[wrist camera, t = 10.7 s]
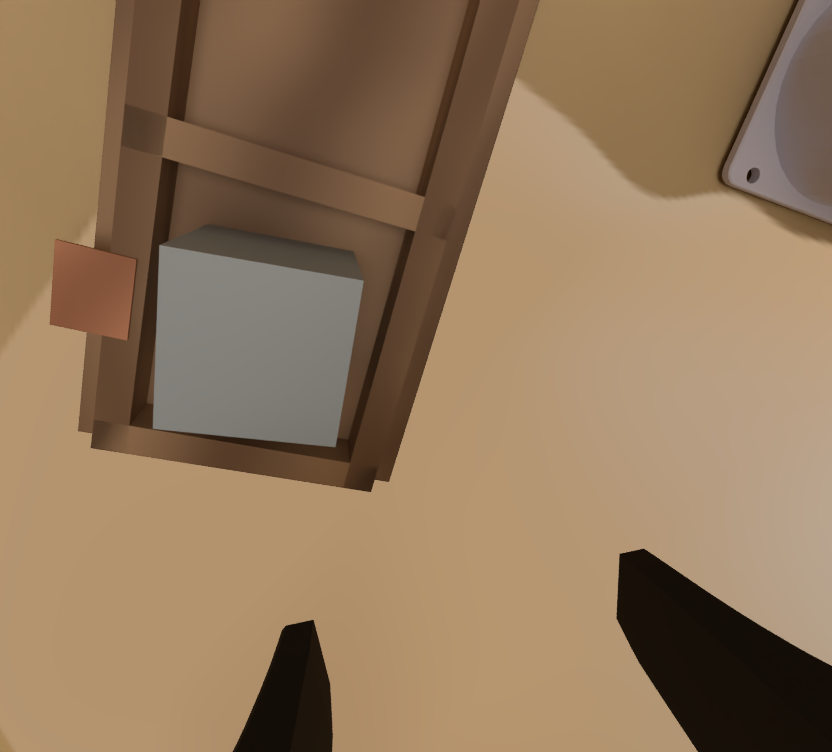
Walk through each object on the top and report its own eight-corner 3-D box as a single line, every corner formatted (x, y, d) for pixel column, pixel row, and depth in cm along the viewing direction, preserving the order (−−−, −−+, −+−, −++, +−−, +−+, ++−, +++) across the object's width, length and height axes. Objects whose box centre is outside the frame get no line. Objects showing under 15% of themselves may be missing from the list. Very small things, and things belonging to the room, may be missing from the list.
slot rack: (570, -124, 15) (617, -181, 12) (386, 471, 21) (394, 509, 19) (145, -342, 12) (100, -470, 10) (79, 419, 18) (41, 456, 16)
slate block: (353, 251, 17) (364, 280, 12) (333, 378, 18) (335, 447, 14) (207, 224, 16) (159, 245, 11) (198, 360, 17) (153, 428, 13)
